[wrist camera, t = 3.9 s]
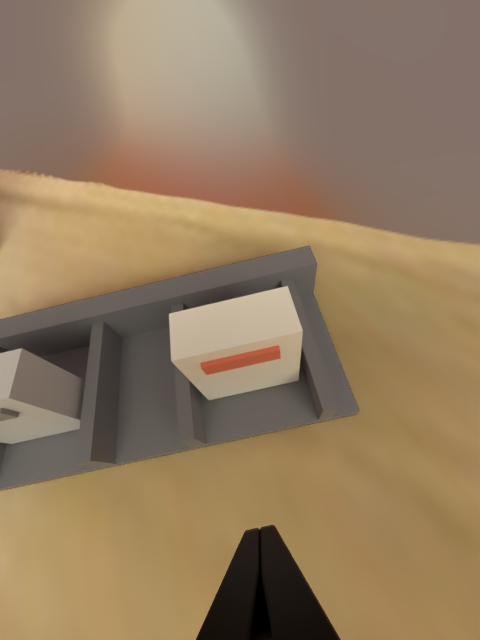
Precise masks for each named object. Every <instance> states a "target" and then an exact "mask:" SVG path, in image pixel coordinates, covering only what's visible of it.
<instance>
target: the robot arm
mask: <svg viewBox="0 0 480 640" xmlns="http://www.w3.org/2000/svg"><path fill="white" fill-rule="evenodd" d="M196 640H341V639H340V638H339V636H338V634H337V633H336V631H335V629H334V627H333V626H332V624H331V622H330V620H329V619H328V617H327V615H326V614H325V612H324V610H323V608H322V607H321V605H320V603H319V601H318V600H317V598H316V596H315V595H314V593H313V591H312V589H311V588H310V586H309V584H308V582H307V581H306V579H305V577H304V576H303V574H302V572H301V570H300V569H299V567H298V565H297V563H296V562H295V560H294V558H293V557H292V555H291V553H290V551H289V550H288V548H287V546H286V544H285V543H284V541H283V539H282V538H281V536H280V534H279V532H278V531H277V529H276V527H275V526H274V525H270V526H265V527H261V529H258V528H255V529H250V530H246V531H245V532H244V534H243V537H242V539H241V541H240V543H239V545H238V548H237V550H236V552H235V554H234V557H233V559H232V561H231V563H230V565H229V568H228V570H227V572H226V574H225V576H224V579H223V581H222V583H221V585H220V587H219V590H218V592H217V594H216V596H215V599H214V601H213V603H212V605H211V607H210V610H209V612H208V614H207V616H206V618H205V621H204V623H203V625H202V627H201V629H200V632H199V634H198V636H197V638H196Z"/></svg>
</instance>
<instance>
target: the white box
mask: <svg viewBox="0 0 480 640" xmlns="http://www.w3.org/2000/svg"><path fill="white" fill-rule="evenodd" d="M84 387H85V380H83V379H81V378H79V377H77V376H75V375H73V374H71V373H69V372H67V371H65V370H63V369H62V368H60V367H58V366H56V365H54V364H52V363H50V362H48V361H46V360H44V359H42V358H40V357H38V356H36V355H34V354H32V353H30V352H28V351H26V350H24V349H22V348H21V349H16V350H12V351H8V352H4V353H0V442H1V443H8V444H14V443H18V442H23V441H28V440H32V439H37V438H41V437H46V436H50V435H55V434H59V433H64V432H68V431H73V430H77V429H80V420H81V412H82V404H83V396H84Z"/></svg>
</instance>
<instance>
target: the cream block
mask: <svg viewBox="0 0 480 640" xmlns="http://www.w3.org/2000/svg"><path fill="white" fill-rule="evenodd" d="M169 327H170V347H171V361H172V362H173V364H174V365H175V366H176V367H177V368H178V369H179V370H180V371H181V372H182V373H183V374H184V375H185V376H186V377H187V378H188V379H189V380H190V381H191V382H192V384H193V385H194V386H195V387H196V388H197V389H198V390H199V391H200V392H201V393H202V394H203V395H204V396H205V397H206V398H207V399H208V400H213V399H218V398H222V397H227V396H231V395H236V394H240V393H245V392H249V391H254V390H258V389H263V388H267V387H272V386H277V385H281V384H286V383H290V382H295V381H299V369H300V358H301V347H302V336H303V330H302V327H301V324H300V321H299V318H298V315H297V312H296V309H295V306H294V303H293V300H292V297H291V294H290V291H289V289H288V286H285V287H281V288H277V289H272V290H268V291H264V292H259V293H255V294H251V295H247V296H242V297H238V298H234V299H230V300H225V301H221V302H217V303H213V304H208V305H204V306H200V307H195V308H191V309H187V310H183V311H178V312H174V313H170V314H169Z"/></svg>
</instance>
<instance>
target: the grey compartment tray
mask: <svg viewBox="0 0 480 640" xmlns="http://www.w3.org/2000/svg"><path fill="white" fill-rule="evenodd" d="M316 268H317V262H316V260H315V258H314V255H313V253H312V251H311V248H310V246H305V247H301V248H297V249H292V250H288V251H284V252H280V253H276V254H271V255H267V256H263V257H259V258H255V259H251V260H246V261H242V262H238V263H234V264H230V265H226V266H221V267H217V268H213V269H209V270H205V271H200V272H196V273H192V274H188V275H184V276H180V277H175V278H171V279H167V280H163V281H159V282H154V283H150V284H146V285H142V286H138V287H134V288H129V289H125V290H121V291H117V292H113V293H108V294H104V295H100V296H96V297H92V298H88V299H83V300H79V301H75V302H71V303H67V304H63V305H58V306H54V307H50V308H46V309H42V310H37V311H33V312H29V313H25V314H21V315H17V316H12V317H8V318H4V319H0V353H4V352H8V351H12V350H16V349H21V348H22V349H24V350H26V351H28V352H30V353H32V354H34V355H36V356H38V357H40V358H42V359H44V360H46V361H48V362H50V363H52V364H54V365H56V366H58V367H60V368H62V369H63V370H65V371H67V372H69V373H71V374H73V375H75V376H77V377H79V378H81V379H83V380H85V387H84V396H83V404H82V412H81V420H80V429H77V430H73V431H68V432H64V433H59V434H55V435H50V436H46V437H41V438H37V439H32V440H28V441H23V442H18V443H14V444H8V443H1V442H0V491H2V490H6V489H11V488H16V487H20V486H25V485H30V484H34V483H39V482H44V481H48V480H53V479H57V478H62V477H67V476H71V475H76V474H81V473H85V472H90V471H95V470H99V469H104V468H109V467H113V466H118V465H123V464H127V463H132V462H137V461H141V460H146V459H151V458H155V457H160V456H165V455H169V454H174V453H179V452H183V451H188V450H193V449H197V448H202V447H207V446H211V445H216V444H221V443H225V442H230V441H235V440H239V439H244V438H249V437H253V436H258V435H263V434H267V433H272V432H277V431H281V430H286V429H291V428H295V427H300V426H305V425H309V424H314V423H319V422H323V421H328V420H333V419H337V418H342V417H347V416H351V415H356V414H357V413H358V412H359V409H358V406H357V404H356V401H355V399H354V396H353V393H352V391H351V388H350V386H349V383H348V381H347V378H346V376H345V373H344V371H343V368H342V365H341V363H340V360H339V358H338V355H337V353H336V350H335V348H334V345H333V343H332V340H331V337H330V335H329V332H328V330H327V327H326V325H325V322H324V320H323V317H322V315H321V312H320V309H319V307H318V304H317V302H316V299H315V297H314V294H313V291H314V283H315V276H316ZM285 286H288V289H289V291H290V294H291V297H292V300H293V303H294V306H295V309H296V312H297V315H298V318H299V321H300V324H301V327H302V330H303V336H302V347H301V358H300V369H299V381H295V382H290V383H286V384H281V385H277V386H272V387H267V388H263V389H258V390H254V391H249V392H245V393H240V394H236V395H231V396H227V397H222V398H218V399H213V400H208V399H207V398H206V397H205V396H204V395H203V394H202V393H201V392H200V391H199V390H198V389H197V388H196V387H195V386H194V385H193V384H192V382H191V381H190V380H189V379H188V378H187V377H186V376H185V375H184V374H183V373H182V372H181V371H180V370H179V369H178V368H177V367H176V366H175V365H174V364H173V362H172V361H171V347H170V327H169V314H170V313H174V312H178V311H183V310H187V309H191V308H195V307H200V306H204V305H208V304H213V303H217V302H221V301H225V300H230V299H234V298H238V297H242V296H247V295H251V294H255V293H259V292H264V291H268V290H272V289H277V288H281V287H285Z"/></svg>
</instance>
